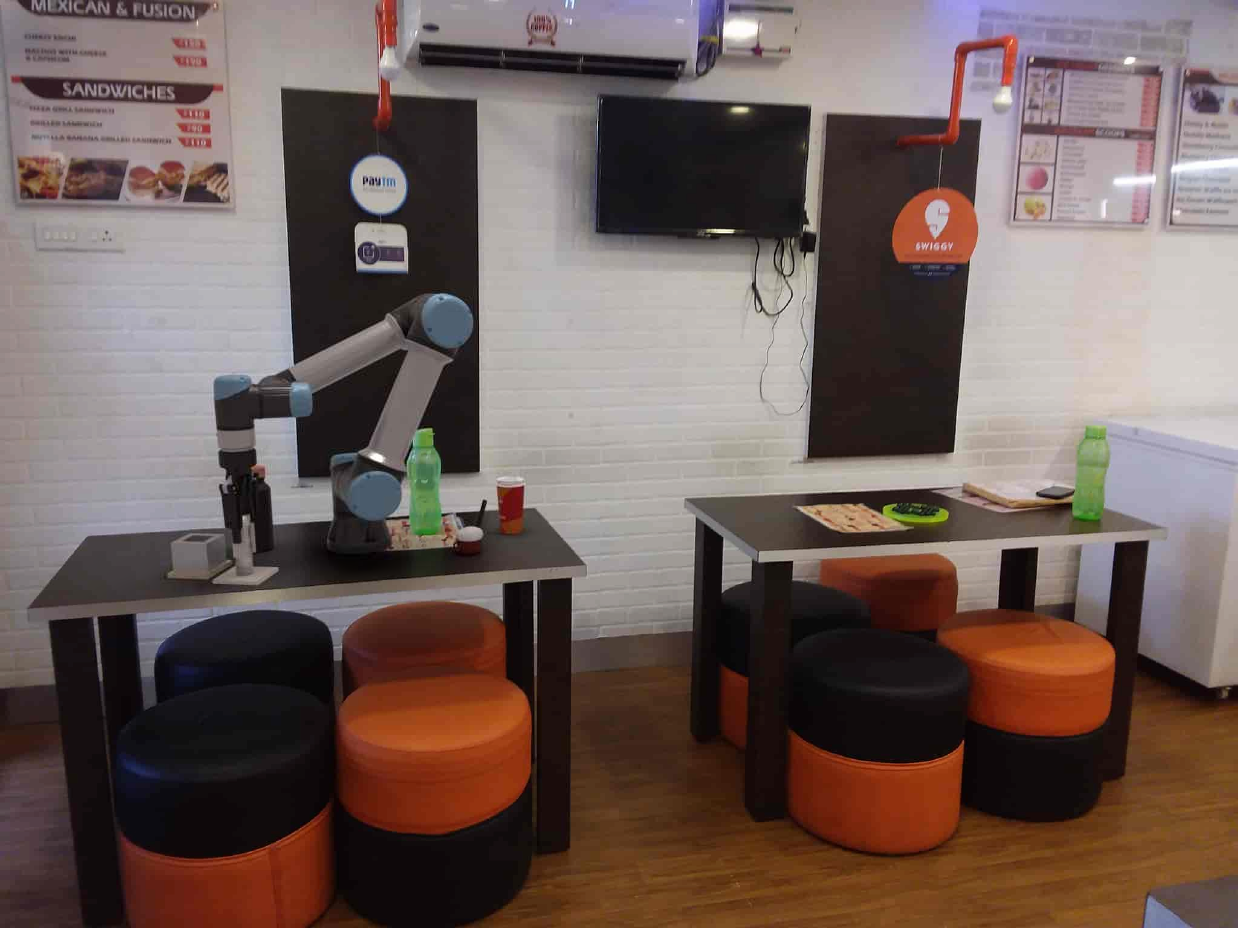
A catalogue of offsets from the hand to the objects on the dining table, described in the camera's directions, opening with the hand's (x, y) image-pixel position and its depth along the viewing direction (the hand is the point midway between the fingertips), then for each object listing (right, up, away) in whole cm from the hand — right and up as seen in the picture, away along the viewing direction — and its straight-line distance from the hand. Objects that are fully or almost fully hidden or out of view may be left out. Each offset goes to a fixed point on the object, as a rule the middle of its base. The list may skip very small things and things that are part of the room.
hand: (244, 554), depth 205 cm
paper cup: (+53, +2, +39) cm, 66 cm away
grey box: (-12, -4, +7) cm, 14 cm away
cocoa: (+46, -2, +21) cm, 50 cm away
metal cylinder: (0, -4, +1) cm, 4 cm away
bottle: (-5, -1, +22) cm, 23 cm away
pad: (0, -5, +1) cm, 5 cm away
